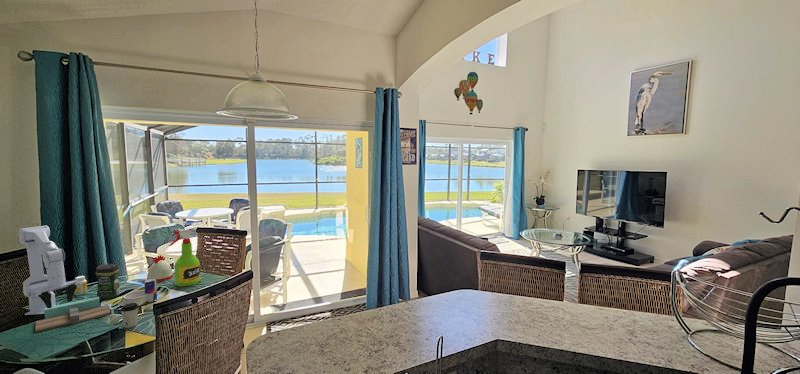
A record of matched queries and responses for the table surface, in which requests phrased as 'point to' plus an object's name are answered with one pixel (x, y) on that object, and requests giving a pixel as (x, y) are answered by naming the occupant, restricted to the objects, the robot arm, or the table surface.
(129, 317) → the coffee cup
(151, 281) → the energy drink
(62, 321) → the balance board
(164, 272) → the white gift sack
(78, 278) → the supplement bottle
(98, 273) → the coffee jar
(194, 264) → the spray bottle
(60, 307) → the batten
